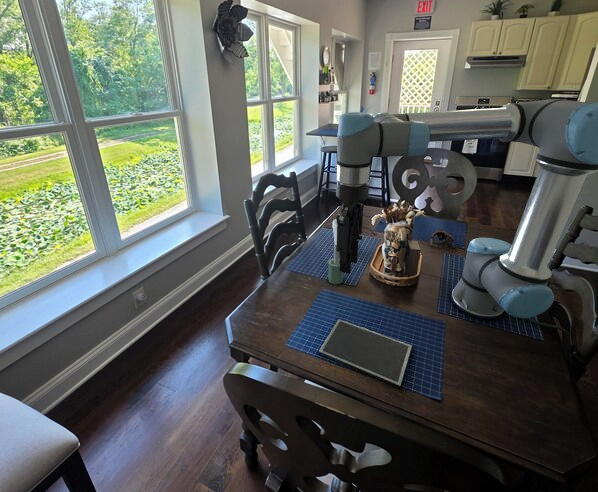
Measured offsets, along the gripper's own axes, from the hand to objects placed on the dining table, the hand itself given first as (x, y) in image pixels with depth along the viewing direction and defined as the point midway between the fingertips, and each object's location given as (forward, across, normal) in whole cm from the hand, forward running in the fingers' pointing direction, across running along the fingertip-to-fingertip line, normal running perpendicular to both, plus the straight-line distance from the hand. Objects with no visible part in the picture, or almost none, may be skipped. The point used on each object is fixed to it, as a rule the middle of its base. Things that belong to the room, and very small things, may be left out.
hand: (348, 266), depth 84 cm
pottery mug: (+25, -69, +19) cm, 76 cm away
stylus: (+24, -24, -13) cm, 37 cm away
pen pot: (+24, -24, -13) cm, 37 cm away
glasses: (+25, -72, -18) cm, 79 cm away
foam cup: (+25, -46, -19) cm, 56 cm away
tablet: (+24, +2, +7) cm, 25 cm away
